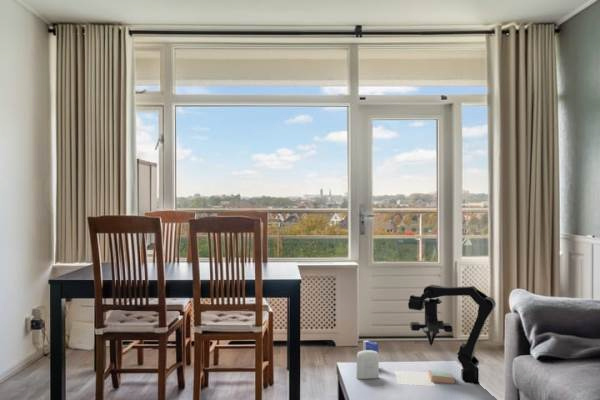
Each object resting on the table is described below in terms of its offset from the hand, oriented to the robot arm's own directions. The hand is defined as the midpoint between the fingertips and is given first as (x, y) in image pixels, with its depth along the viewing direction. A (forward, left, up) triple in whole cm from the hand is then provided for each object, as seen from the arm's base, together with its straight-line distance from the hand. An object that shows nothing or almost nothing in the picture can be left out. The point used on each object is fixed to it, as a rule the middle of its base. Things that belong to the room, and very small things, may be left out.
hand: (430, 345), depth 209 cm
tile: (+2, +9, -11) cm, 15 cm away
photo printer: (+30, +10, -13) cm, 34 cm away
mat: (+9, +9, -13) cm, 18 cm away
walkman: (+28, -5, -13) cm, 31 cm away
